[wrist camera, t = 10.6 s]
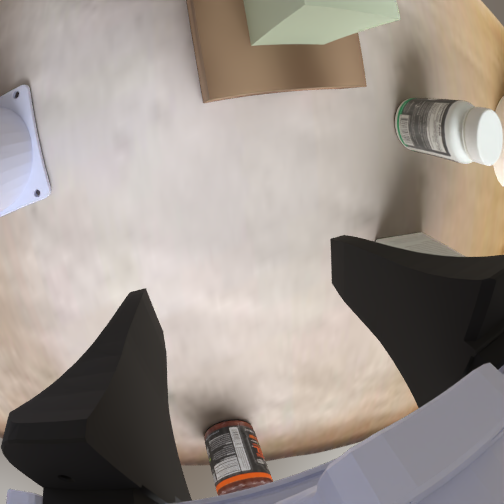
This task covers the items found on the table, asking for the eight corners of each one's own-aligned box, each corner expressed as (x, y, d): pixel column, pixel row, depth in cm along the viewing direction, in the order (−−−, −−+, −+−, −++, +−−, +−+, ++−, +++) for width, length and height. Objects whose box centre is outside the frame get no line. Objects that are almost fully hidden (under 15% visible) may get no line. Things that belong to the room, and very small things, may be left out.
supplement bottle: (258, 432, 33) (288, 508, 23) (215, 448, 32) (236, 523, 22) (243, 411, 30) (274, 499, 20) (194, 428, 29) (214, 516, 19)
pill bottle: (435, 119, 22) (510, 133, 14) (416, 160, 23) (492, 184, 16) (405, 86, 20) (486, 89, 12) (384, 130, 21) (467, 145, 14)
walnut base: (203, 103, 17) (209, 99, 15) (182, -27, 13) (185, -47, 10) (342, 88, 19) (366, 86, 16) (319, -27, 14) (339, -41, 12)
